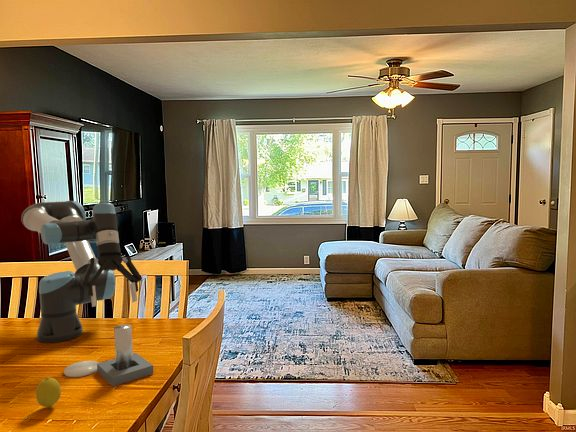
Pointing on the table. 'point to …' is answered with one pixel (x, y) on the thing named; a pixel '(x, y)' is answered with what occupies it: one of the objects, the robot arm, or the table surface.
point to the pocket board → (124, 370)
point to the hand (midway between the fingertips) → (115, 303)
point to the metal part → (123, 347)
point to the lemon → (48, 392)
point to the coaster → (81, 369)
